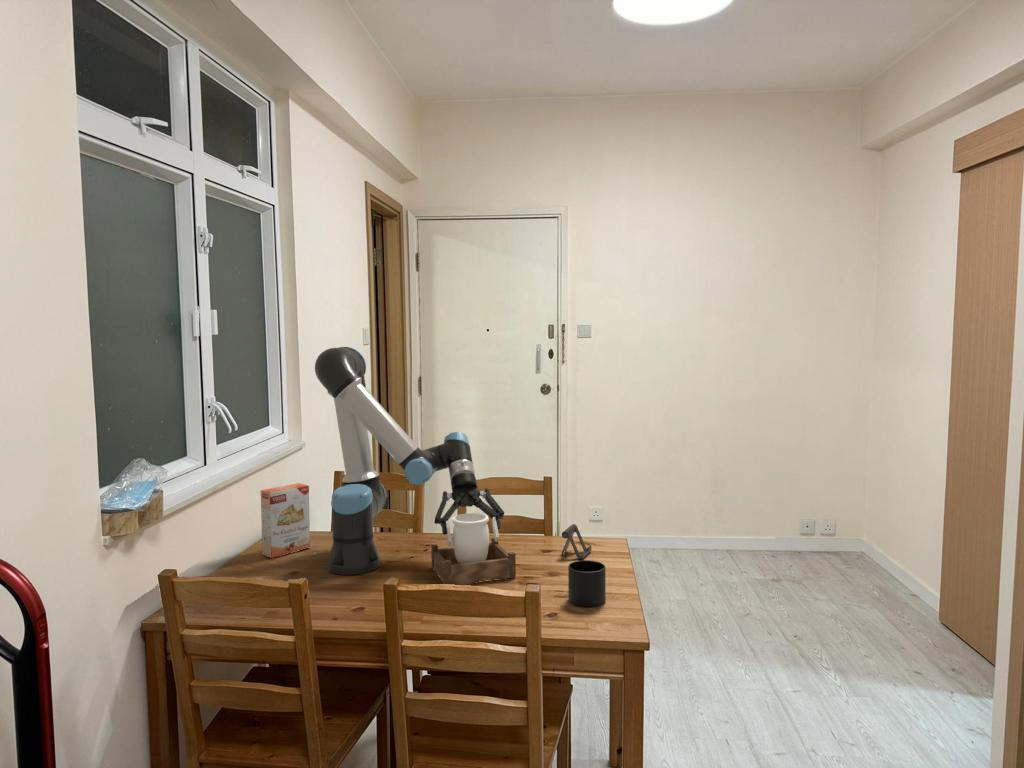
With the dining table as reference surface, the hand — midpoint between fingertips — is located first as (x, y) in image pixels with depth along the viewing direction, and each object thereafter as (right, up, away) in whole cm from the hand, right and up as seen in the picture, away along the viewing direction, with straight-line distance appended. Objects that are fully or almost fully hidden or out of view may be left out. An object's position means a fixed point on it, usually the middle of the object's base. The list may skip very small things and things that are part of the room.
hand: (473, 541), depth 204 cm
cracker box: (-60, -9, +25) cm, 66 cm away
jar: (-1, -9, +3) cm, 9 cm away
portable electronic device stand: (+30, -8, +19) cm, 36 cm away
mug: (+30, -11, -17) cm, 37 cm away
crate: (0, -10, +3) cm, 10 cm away
